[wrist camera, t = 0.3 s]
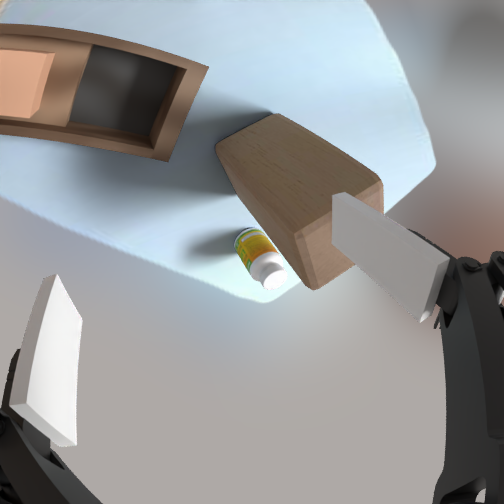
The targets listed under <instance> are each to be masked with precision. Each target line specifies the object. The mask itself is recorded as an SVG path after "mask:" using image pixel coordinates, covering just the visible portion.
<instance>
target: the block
mask: <svg viewBox="0 0 504 504" xmlns="http://www.w3.org/2000/svg"><path fill="white" fill-rule="evenodd" d="M215 147H216V154H217V156H218V158H219V160H220V162H221V164H222V166H223V168H224V170H225V172H226V174H227V176H228V178H229V180H230V182H231V184H232V186H233V188H234V190H235V192H236V194H237V196H238V197H239V198H240V200H241V201H242V202H243V204H244V205H245V206H246V208H247V209H248V210H249V211H250V213H251V214H252V215H253V217H254V218H255V219H256V221H257V222H258V223H259V225H260V226H261V227H262V228H263V230H264V231H265V232H266V234H267V235H268V236H269V238H270V239H271V240H272V242H273V243H274V244H275V246H276V247H277V248H278V250H279V251H280V252H281V254H282V255H283V256H284V258H285V259H286V260H287V262H288V263H289V264H290V266H291V267H292V268H293V270H294V271H295V272H296V274H297V275H298V276H299V278H300V279H301V280H302V282H303V283H304V284H305V286H307V287H308V288H310V289H312V290H316V289H319V288H321V287H322V286H324V285H325V284H327V283H328V282H330V281H331V280H333V279H334V278H336V277H337V276H339V275H340V274H342V273H343V272H345V271H346V270H348V269H349V268H351V267H352V266H353V265H355V263H353V262H352V261H351V260H350V259H349V258H348V257H347V256H345V255H344V254H343V253H342V252H341V251H340V250H338V249H337V248H336V247H335V246H334V245H333V244H332V195H334V194H338V193H343V192H346V193H348V194H349V195H351V196H353V197H355V198H356V199H358V200H360V201H362V202H363V203H365V204H367V205H368V206H370V207H372V208H374V209H375V210H377V211H379V212H380V213H382V214H384V199H383V183H382V181H381V179H380V178H379V176H378V175H377V174H376V173H374V172H373V171H371V170H370V169H369V168H367V167H366V166H364V165H363V164H361V163H360V162H358V161H357V160H355V159H354V158H352V157H351V156H349V155H348V154H346V153H345V152H343V151H342V150H340V149H339V148H337V147H335V146H334V145H332V144H331V143H329V142H327V141H326V140H324V139H323V138H321V137H319V136H318V135H316V134H314V133H313V132H311V131H309V130H307V129H306V128H304V127H302V126H301V125H299V124H297V123H295V122H294V121H292V120H290V119H288V118H286V117H285V116H283V115H281V114H272V115H270V116H268V117H266V118H264V119H261V120H259V121H258V122H256V123H254V124H252V125H250V126H248V127H246V128H244V129H242V130H240V131H238V132H236V133H234V134H233V135H231V136H229V137H227V138H225V139H223V140H222V141H220V142H218V143H217V144H216V145H215Z"/></svg>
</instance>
